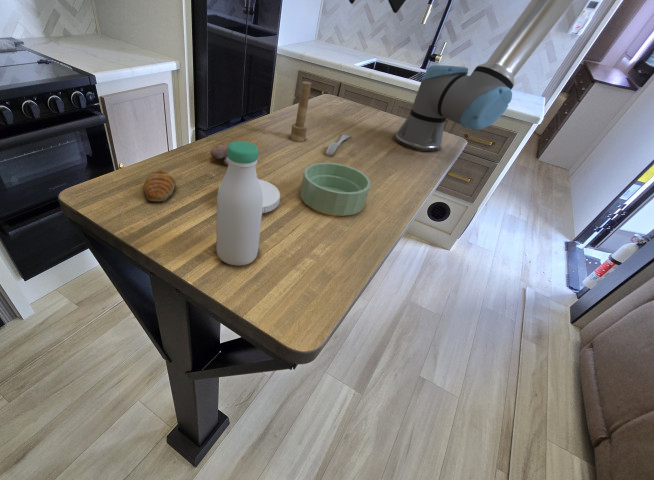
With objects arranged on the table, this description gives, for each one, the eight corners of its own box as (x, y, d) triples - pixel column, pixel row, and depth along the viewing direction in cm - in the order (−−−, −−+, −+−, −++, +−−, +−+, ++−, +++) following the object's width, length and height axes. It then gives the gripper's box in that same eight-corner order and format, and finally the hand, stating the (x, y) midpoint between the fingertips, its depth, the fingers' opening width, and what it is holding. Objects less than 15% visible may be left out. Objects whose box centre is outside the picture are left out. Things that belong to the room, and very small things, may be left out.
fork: (348, 144, 116) (351, 135, 114) (332, 156, 101) (335, 147, 99) (340, 142, 117) (343, 133, 115) (323, 154, 101) (326, 144, 100)
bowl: (318, 179, 88) (323, 157, 84) (372, 200, 83) (380, 177, 79) (287, 200, 79) (291, 176, 75) (346, 225, 73) (354, 201, 69)
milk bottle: (265, 258, 62) (279, 152, 48) (230, 272, 59) (234, 160, 45) (243, 237, 66) (250, 133, 52) (209, 248, 63) (206, 139, 49)
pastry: (172, 205, 72) (170, 188, 70) (140, 203, 71) (137, 187, 69) (176, 184, 79) (175, 169, 76) (147, 183, 78) (144, 167, 75)
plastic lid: (283, 193, 81) (284, 183, 79) (272, 223, 71) (274, 213, 69) (228, 182, 82) (228, 173, 80) (210, 211, 72) (210, 200, 70)
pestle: (295, 134, 111) (303, 79, 100) (307, 139, 109) (317, 83, 98) (287, 138, 108) (295, 81, 97) (300, 142, 106) (309, 85, 95)
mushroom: (244, 167, 89) (241, 148, 93) (234, 149, 84) (232, 130, 88) (219, 177, 91) (217, 158, 95) (208, 160, 86) (207, 140, 90)
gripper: (398, -137, 63) (324, -20, 70) (516, -159, 48) (406, -8, 55) (411, -95, 68) (341, 9, 76) (522, -103, 53) (421, 28, 61)
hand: (368, 2), depth 65 cm, fingers open, 13 cm apart
